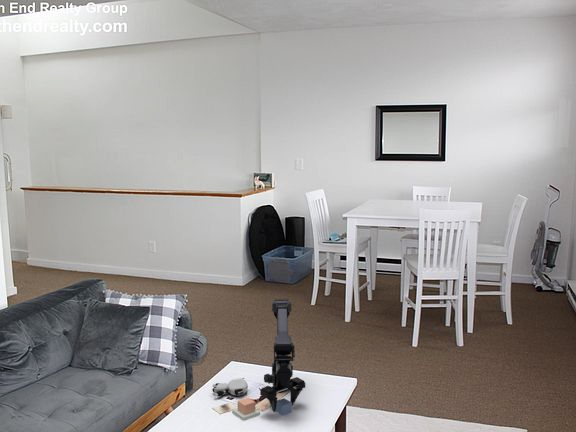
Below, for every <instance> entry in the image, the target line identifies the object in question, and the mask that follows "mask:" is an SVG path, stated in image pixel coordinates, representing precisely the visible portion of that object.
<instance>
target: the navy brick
mask: <svg viewBox="0 0 576 432" xmlns="http://www.w3.org/2000/svg"><path fill="white" fill-rule="evenodd" d="M291 412H293V406H292V402H290V400H288V399H286V398H280V399H277V405H276V411H275V413H277V414H279V415H281V416H284V415H287V414H290V413H291Z"/></svg>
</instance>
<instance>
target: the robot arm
mask: <svg viewBox="0 0 576 432" xmlns="http://www.w3.org/2000/svg"><path fill="white" fill-rule="evenodd" d="M292 305H293V304H292V301H289V299H288V298H276V299H274V301H271V312H273V316H274V317H275V319H276V336H275V340H274V341H275V342H274V343H273V363H271V374H270V373H266V374H264V375H263V382H264V383H266V384H268V385H266V386H263V387H261V389H260V390H259V391H260V394H259V395H260V396H262V397H263V398H264V399H267V400H268V401H269V404H270V407H271V410H272V412H274V413H276V405H277V401H278V397H277V396H278V393H279V394H280V393H284V392H287V391H290V398H289V399H290V400H289V401H290V402H292V407H293V406H294V405H295V403H296V401H297V398H298V397H299V395H300V394H301V392H302V391H304V389H306V382H305V380H303V379H301V378H299V377H297V376H296V377H293V374H294V373H293V372H294V366H293V364H292V363H291V362H293V361H294V358H296V354H295V352H296V351H295V350H296V349H295V345H294V343H293V342H292V337H291V335H290V334H289V330H288V329H289V328H288V318H289V317H290V315H291V314H290V312H292V309H293V308H292ZM269 384H272V386H269Z"/></svg>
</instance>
